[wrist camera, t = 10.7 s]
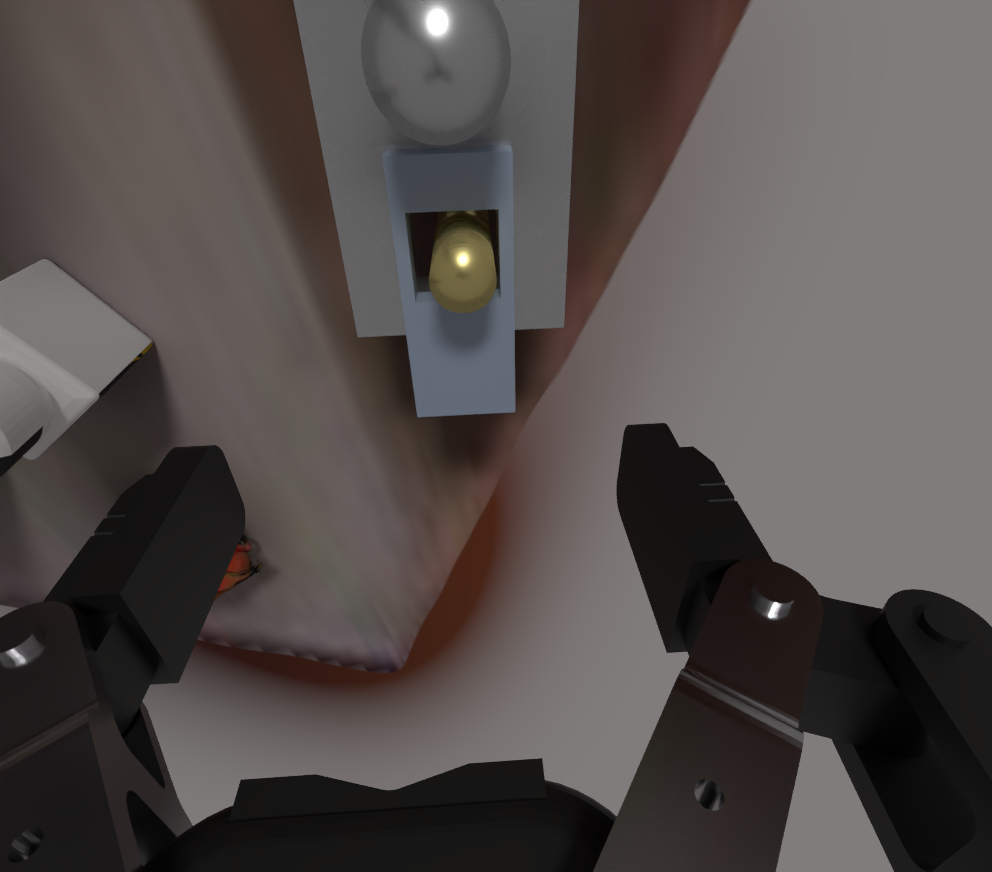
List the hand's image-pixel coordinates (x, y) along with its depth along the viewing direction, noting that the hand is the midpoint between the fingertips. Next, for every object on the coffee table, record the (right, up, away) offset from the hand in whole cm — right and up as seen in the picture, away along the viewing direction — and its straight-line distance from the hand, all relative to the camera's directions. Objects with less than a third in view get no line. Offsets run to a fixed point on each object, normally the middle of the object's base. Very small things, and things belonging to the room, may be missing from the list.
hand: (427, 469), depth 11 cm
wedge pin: (0, +14, +21) cm, 25 cm away
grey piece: (-1, +17, +19) cm, 25 cm away
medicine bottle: (-26, +7, +24) cm, 36 cm away
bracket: (-1, +13, +22) cm, 25 cm away
